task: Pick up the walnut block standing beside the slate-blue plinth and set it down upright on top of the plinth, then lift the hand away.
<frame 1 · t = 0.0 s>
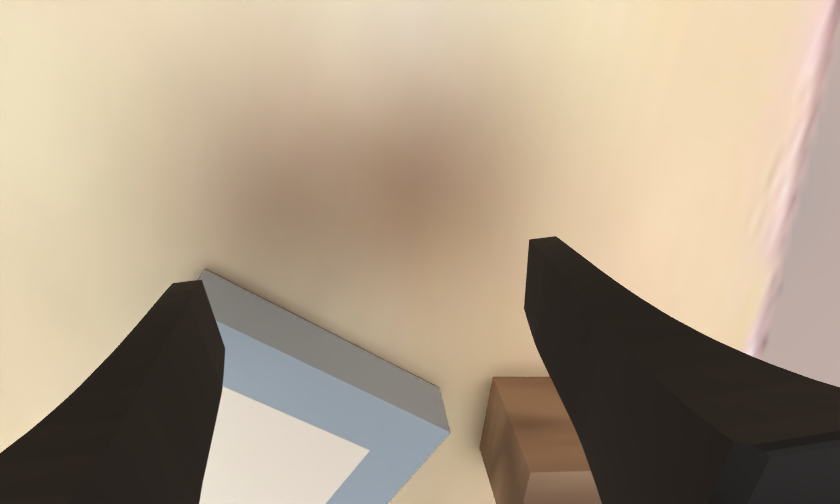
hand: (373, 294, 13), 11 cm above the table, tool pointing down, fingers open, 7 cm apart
slate plinth: (263, 425, 27), on the table
walnut block: (529, 412, 29), on the table
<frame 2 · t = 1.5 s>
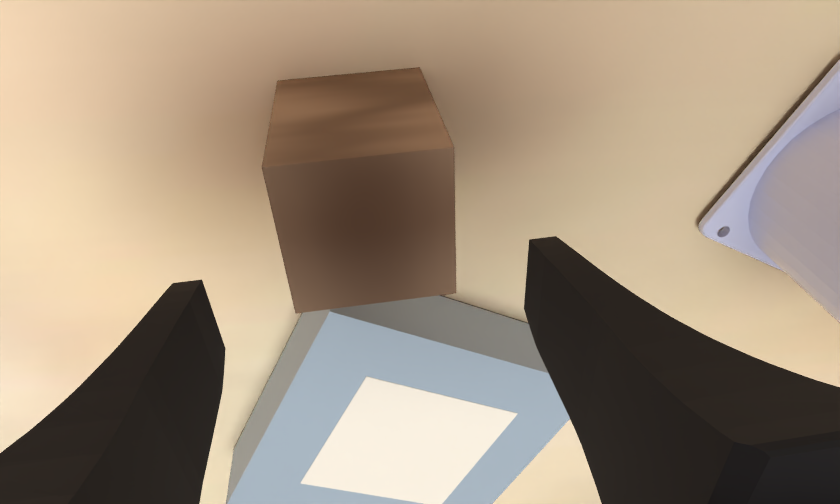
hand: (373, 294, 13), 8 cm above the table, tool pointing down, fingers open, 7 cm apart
slate plinth: (399, 394, 27), on the table
walnut block: (357, 139, 20), on the table
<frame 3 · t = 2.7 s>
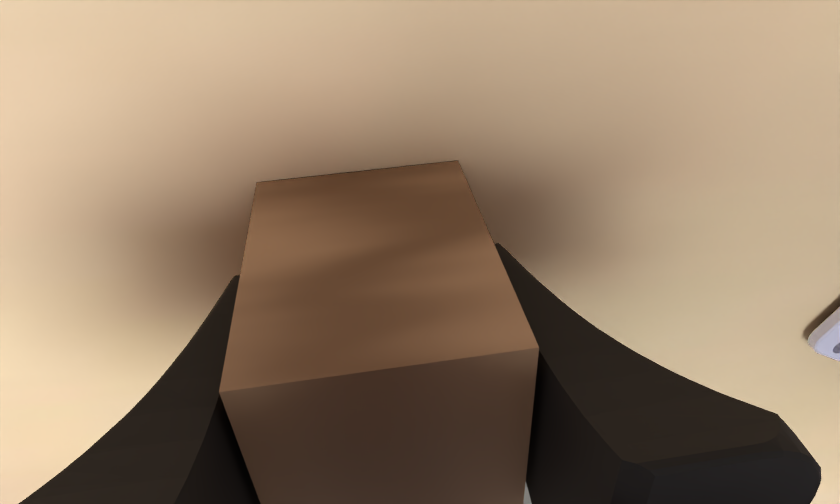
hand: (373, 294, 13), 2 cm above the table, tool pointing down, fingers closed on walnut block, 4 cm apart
walnut block: (368, 253, 14), on the table, touching gripper
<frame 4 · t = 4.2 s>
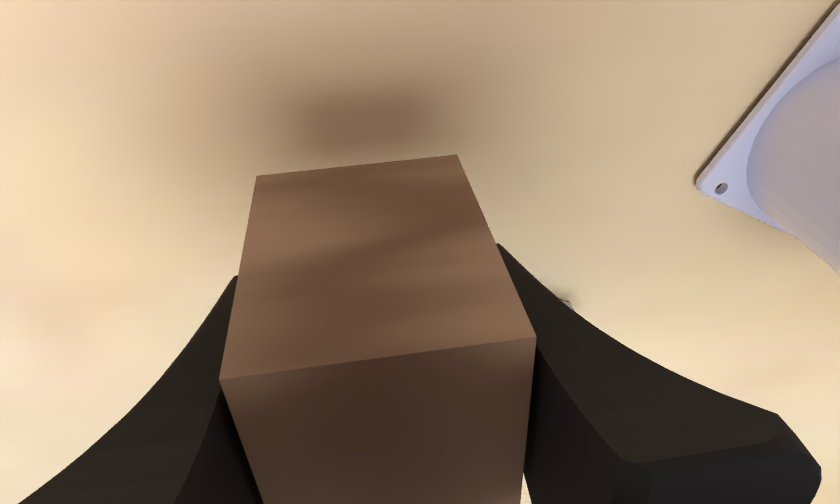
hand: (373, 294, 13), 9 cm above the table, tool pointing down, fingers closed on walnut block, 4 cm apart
walnut block: (368, 247, 14), point 7 cm above the table, touching gripper
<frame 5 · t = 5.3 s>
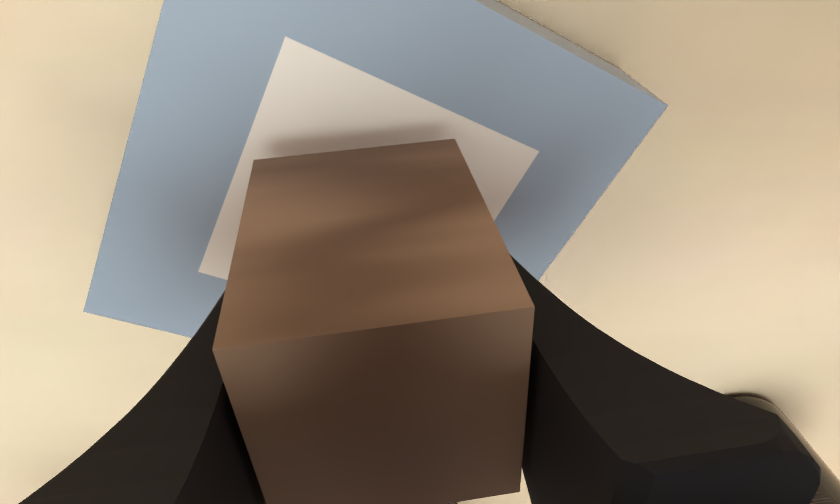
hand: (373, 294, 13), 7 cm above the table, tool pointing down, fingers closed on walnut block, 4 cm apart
slate plinth: (358, 162, 18), on the table
walnut block: (366, 233, 14), point 5 cm above the table, touching gripper
supplement bottle: (711, 431, 30), on the table
when the fingers open (6 cm above the table, at t = 5.9 s): walnut block stays where it is, resting on slate plinth.
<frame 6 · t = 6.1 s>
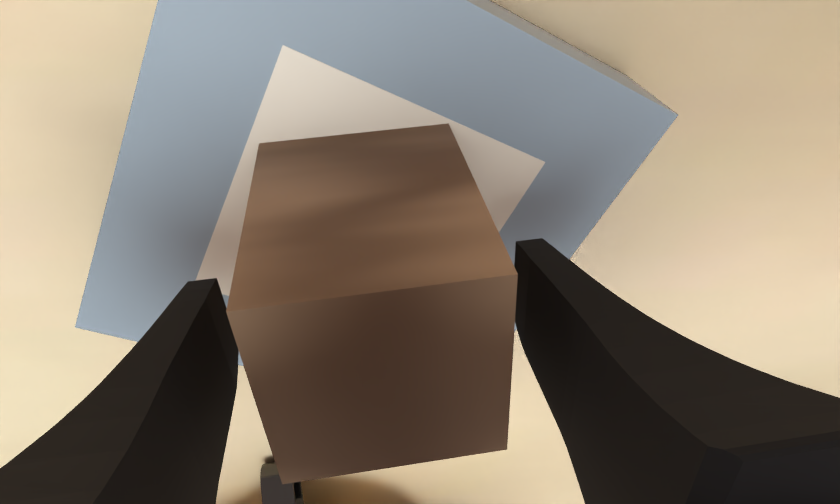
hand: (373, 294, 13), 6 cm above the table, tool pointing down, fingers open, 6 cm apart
slate plinth: (359, 172, 18), on the table
walnut block: (365, 213, 15), point 3 cm above the table, touching slate plinth
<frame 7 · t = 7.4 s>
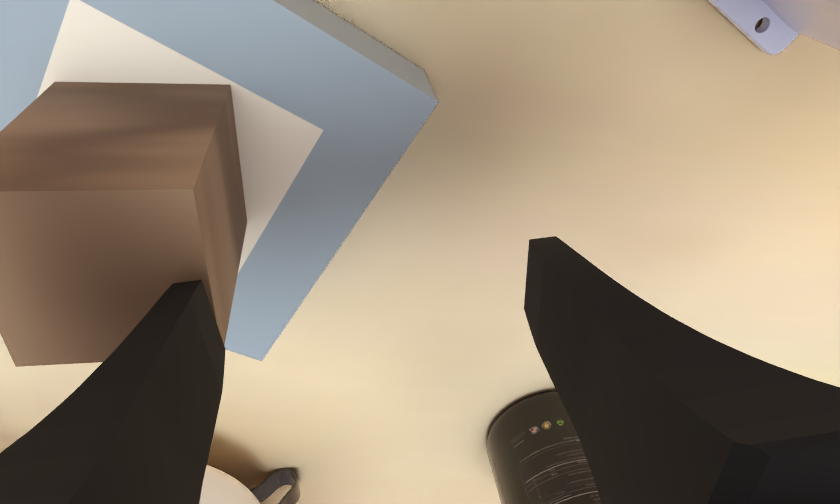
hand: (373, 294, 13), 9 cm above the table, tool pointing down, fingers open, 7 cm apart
coffee press: (130, 483, 30), on the table
slate plinth: (181, 128, 20), on the table
walnut block: (160, 158, 17), point 3 cm above the table, touching slate plinth
supplement bottle: (542, 424, 32), on the table
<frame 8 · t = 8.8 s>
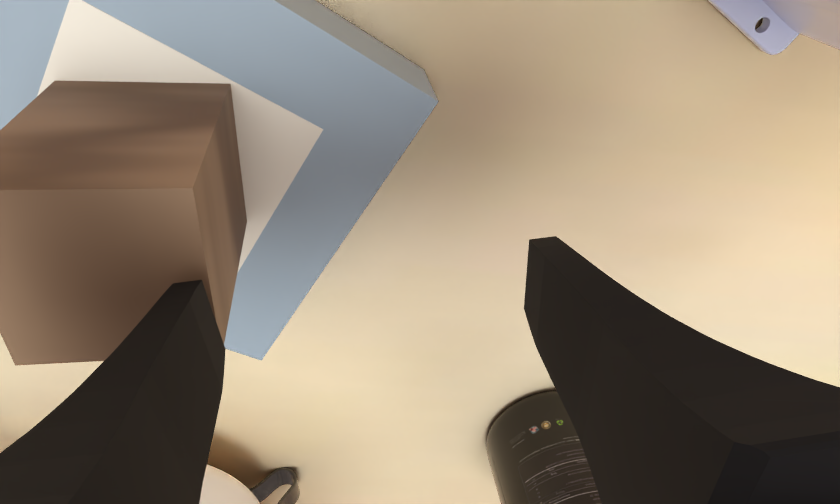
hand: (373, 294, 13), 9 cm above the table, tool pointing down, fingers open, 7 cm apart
coffee press: (130, 482, 30), on the table
slate plinth: (180, 128, 20), on the table
walnut block: (160, 157, 17), point 3 cm above the table, touching slate plinth
supplement bottle: (542, 424, 32), on the table
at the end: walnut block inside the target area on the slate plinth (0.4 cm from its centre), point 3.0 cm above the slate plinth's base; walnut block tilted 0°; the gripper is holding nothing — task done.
